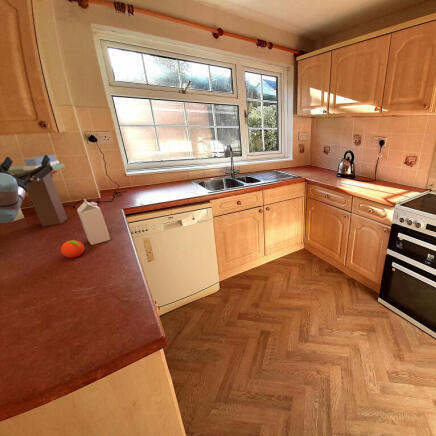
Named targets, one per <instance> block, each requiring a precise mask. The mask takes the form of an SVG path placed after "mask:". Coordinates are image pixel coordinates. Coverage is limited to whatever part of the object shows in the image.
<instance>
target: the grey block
mask: <svg viewBox="0 0 436 436" xmlns="http://www.w3.org/2000/svg"><path fill="white" fill-rule="evenodd" d="M45 155H47V156H48V157H49V159H50V165H54V164H60V161H59V159H57V157H56V155H55V154H44V155H39V156H35V157H30V158H24V159H23V162H24V164H25V166H26V167H22V168H23V170H34V169H35V168H37V167H39V166H41V163H42V160H43V158H44V156H45Z"/></svg>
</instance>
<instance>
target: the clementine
mask: <svg viewBox="0 0 436 436" xmlns="http://www.w3.org/2000/svg"><path fill="white" fill-rule="evenodd" d="M84 251H85V246H84V243H83V242H82V241H79V240H77V239H70V240H67V241H65V242H64V243H63V244H62V245H61V246H60V253H61V254H62V255H63V256H64V257H65V258H71V259H73V258H77V257H80V256H81V255H82V254H83V253H84Z"/></svg>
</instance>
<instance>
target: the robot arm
mask: <svg viewBox="0 0 436 436" xmlns="http://www.w3.org/2000/svg"><path fill="white" fill-rule="evenodd" d="M44 155H45V156H44ZM44 155H43V156H44V158H43V160H42V163H41V166H39V167H37V168H35V169H34V170H32V171H30V172H25V173H21V174H10V173H8V172H7V171H8V170H9V168H10V167H12V165H13V162H14V161H13V159H11V158H10V156H6V157H5V159H4V160H3V162H2V163H0V172H1V173H0V224H9V223H12V222H14V221H15V219H16V218H17V216H18V214H19V211H20V208H21V206H22V204H23V202H24V199H25V197H26V195H27V194H28V192H27V191H28V189H29V183H31V182H34V181H35V182H36V183H39V182H40V181H41V179H43V178H44V177H45V176H46V175H48V174H49V173H50V174H51V171H52V172H54V171H53V170H54V169H53V167H52V166H51V165H50V159H49V157H48V156H47V155H48V154H44ZM27 175H29V176H30V178H29V177H28V176H27Z"/></svg>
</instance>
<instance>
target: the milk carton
mask: <svg viewBox="0 0 436 436" xmlns="http://www.w3.org/2000/svg"><path fill="white" fill-rule="evenodd" d="M83 200H84V201H83V202H82V204H80V206H79V207H77V209H76V211H77V214H78V216H79V217H78V218H79V219H80V221H81V225H82V228H83V230H84V233H85V237H86V238H87V241H88V243H89V244H90V245H91V246H94V245H97V244H100V243H105V242H107V241H111V236H110V233H109V231H108V228H107V224H106V221H105V218H104V215H103V212H102V209H101V207H99V206H98V203H97V202H94V201H91V202H89V201H87V200H86V199H85V198H83Z"/></svg>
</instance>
